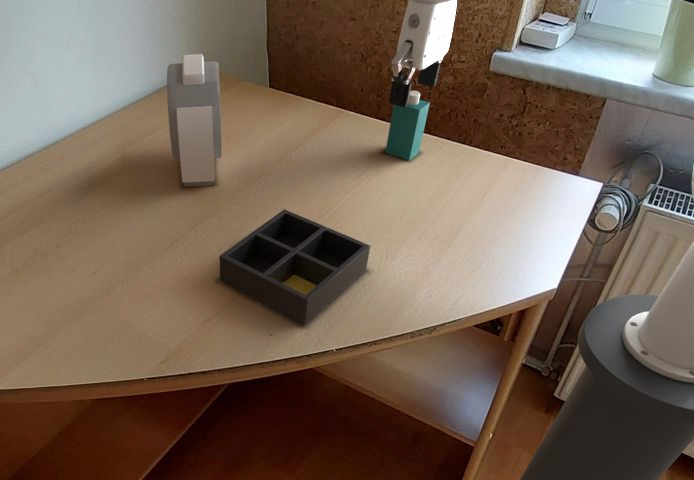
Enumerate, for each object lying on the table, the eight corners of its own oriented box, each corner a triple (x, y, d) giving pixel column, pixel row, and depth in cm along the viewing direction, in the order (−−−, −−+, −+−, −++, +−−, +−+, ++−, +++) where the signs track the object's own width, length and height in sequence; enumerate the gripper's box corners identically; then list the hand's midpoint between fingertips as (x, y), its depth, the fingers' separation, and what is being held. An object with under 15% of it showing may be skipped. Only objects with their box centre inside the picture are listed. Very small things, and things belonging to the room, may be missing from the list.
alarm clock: (223, 195, 108) (219, 79, 94) (174, 198, 109) (164, 82, 94) (220, 146, 121) (216, 37, 107) (177, 148, 121) (168, 40, 107)
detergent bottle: (419, 152, 115) (432, 92, 107) (409, 160, 113) (421, 100, 105) (395, 145, 118) (406, 86, 110) (385, 152, 116) (395, 93, 108)
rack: (366, 270, 92) (370, 245, 88) (304, 325, 84) (307, 300, 81) (282, 233, 100) (284, 208, 96) (220, 280, 92) (219, 255, 89)
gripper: (429, 5, 89) (406, 119, 102) (483, -26, 98) (455, 83, 110) (383, -4, 93) (366, 106, 106) (439, -33, 102) (417, 72, 114)
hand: (412, 94), depth 108 cm, fingers open, 9 cm apart
